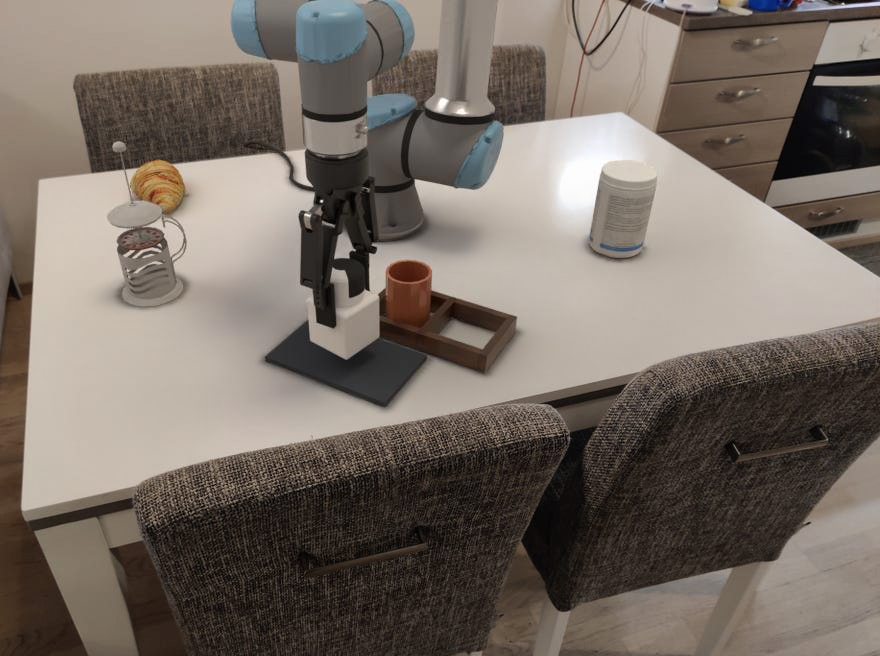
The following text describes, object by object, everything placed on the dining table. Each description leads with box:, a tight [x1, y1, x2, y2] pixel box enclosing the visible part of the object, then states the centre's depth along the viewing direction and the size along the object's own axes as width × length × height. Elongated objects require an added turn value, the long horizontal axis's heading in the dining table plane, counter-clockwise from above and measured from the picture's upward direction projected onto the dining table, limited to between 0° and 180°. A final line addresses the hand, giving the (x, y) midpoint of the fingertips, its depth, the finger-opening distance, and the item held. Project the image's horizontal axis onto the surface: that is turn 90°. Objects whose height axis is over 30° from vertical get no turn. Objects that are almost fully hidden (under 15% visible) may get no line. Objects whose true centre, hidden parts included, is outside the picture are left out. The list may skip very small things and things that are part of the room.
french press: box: [106, 140, 188, 308], centre depth 111 cm, size 10×12×25 cm
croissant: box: [129, 158, 186, 213], centre depth 145 cm, size 21×10×8 cm, turn 26°
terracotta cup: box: [385, 259, 433, 328], centre depth 110 cm, size 7×7×9 cm
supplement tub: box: [588, 159, 659, 259], centre depth 127 cm, size 10×10×15 cm
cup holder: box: [377, 286, 518, 373], centre depth 110 cm, size 21×11×3 cm, turn 61°
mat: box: [264, 318, 428, 408], centre depth 104 cm, size 20×12×1 cm, turn 61°
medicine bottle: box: [306, 257, 380, 360], centre depth 99 cm, size 7×7×12 cm
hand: (343, 308), depth 99 cm, fingers closed on medicine bottle, 8 cm apart
